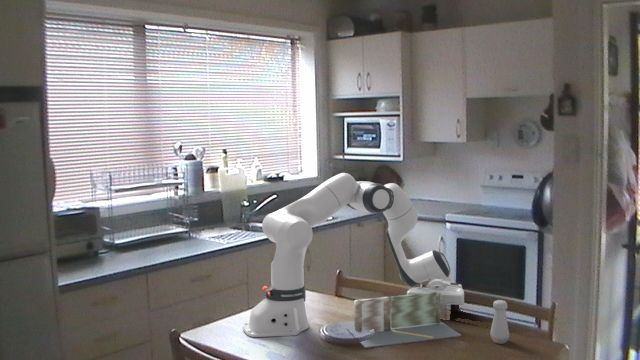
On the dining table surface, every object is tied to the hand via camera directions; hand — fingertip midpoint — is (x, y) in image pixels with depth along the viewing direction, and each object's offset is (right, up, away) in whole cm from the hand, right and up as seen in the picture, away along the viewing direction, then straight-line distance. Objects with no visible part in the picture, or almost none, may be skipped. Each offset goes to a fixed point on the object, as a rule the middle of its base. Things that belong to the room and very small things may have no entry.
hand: (432, 302), depth 212 cm
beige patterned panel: (-22, -8, -10) cm, 25 cm away
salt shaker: (+17, -9, -20) cm, 28 cm away
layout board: (-12, -8, -10) cm, 18 cm away
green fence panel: (-7, -6, -6) cm, 11 cm away
